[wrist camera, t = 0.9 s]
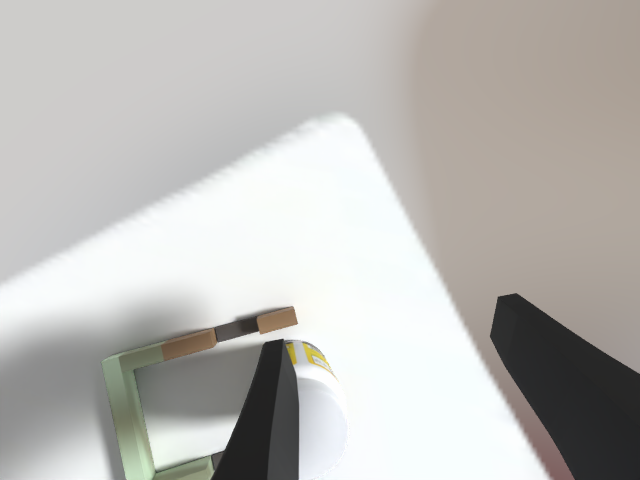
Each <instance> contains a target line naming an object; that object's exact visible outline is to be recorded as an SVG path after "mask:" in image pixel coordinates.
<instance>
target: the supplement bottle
mask: <svg viewBox="0 0 640 480" xmlns="http://www.w3.org/2000/svg"><path fill="white" fill-rule="evenodd" d="M285 344H286V347H287V350H288V353H289V355H290V358H291V361H292V364H293V366H294V369H295V372H296V376H297V386H298V397H299V480H313V479H316V478H319V477H321V476H323V475H325V474H326V473H328V472H329V471H330V470H332V469H333V468H334V467H335V466H336V465H337V464H338V462H339V461H340V459H341V458H342V456H343V454H344V452H345V450H346V447H347V443H348V438H349V424H348V419H347V416H346V400H345V396H344V392H343V389H342V387H341V385H340V383H339V382H338V380H337V378H336V376H335V375H334V373H333V371H332V369H331V368H330V366H329V364H328V362H327V361H326V359H325V357H324V355H323V354H322V353H321V351H320V350H319V349H318V348H316V347H315V346H314V345H312V344H310V343H308V342H305V341H301V340H292V341H286V342H285Z"/></svg>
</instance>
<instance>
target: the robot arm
mask: <svg viewBox="0 0 640 480" xmlns="http://www.w3.org/2000/svg"><path fill="white" fill-rule="evenodd" d="M490 338H491V340H492V342H493V344H494V346H495V348H496V350H497V352H498V354H499V356H500V358H501V360H502V361H503V364H504V365H505V367H506V369H507V370H508V372H509V373H510V375H511V376H512V378H513V379H514V381H515V383H516V384H517V386H518V387H519V389H520V390H521V392H522V393H523V395H524V396H525V398H526V399H527V401H528V402H529V404H530V406H531V407H532V408H533V410H534V411H535V413H536V415H537V416H538V418H539V419H540V420H541V422H542V424H543V425H544V427H545V428H546V429H547V431H548V432H549V434H550V436H551V438H552V439H553V441H554V443H555V444H556V446H557V448H558V449H559V451H560V453H561V455H562V456H563V458H564V460H565V462H566V464H567V466H568V468H569V470H570V471H571V473H572V475H573V477H574V479H575V480H640V374H639V373H637V372H635V371H634V370H632V369H630V368H629V367H627V366H625V365H624V364H622V363H621V362H619V361H617V360H615V359H614V358H612V357H611V356H609V355H607V354H606V353H604V352H602V351H601V350H599V349H598V348H596V347H595V346H593V345H592V344H590V343H589V342H587V341H585V340H584V339H582V338H581V337H579V336H578V335H576V334H575V333H573V332H572V331H570V330H569V329H567V328H566V327H564V326H563V325H562V324H560V323H559V322H557V321H556V320H554V319H553V318H551V317H550V316H548V315H547V314H546V313H544V312H543V311H541V310H540V309H538V308H537V307H535V306H534V305H533V304H531V303H530V302H528V301H527V300H526V299H524V298H523V297H521V296H520V295H518V294H517V293H515V294H510V295H505V296H500V297H498V299H497V304H496V309H495V314H494V319H493V324H492V329H491V334H490ZM211 480H299V397H298V386H297V376H296V372H295V369H294V366H293V364H292V361H291V358H290V355H289V353H288V350H287V347H286V344H285V342H284V339H279V340H274V341H269V342H265V343H264V345H263V347H262V351H261V355H260V358H259V362H258V365H257V369H256V372H255V375H254V378H253V381H252V384H251V387H250V389H249V392H248V395H247V398H246V400H245V403H244V406H243V408H242V411H241V413H240V416H239V418H238V421H237V423H236V425H235V428H234V430H233V432H232V435H231V437H230V440H229V442H228V444H227V446H226V449H225V451H224V453H223V455H222V457H221V459H220V461H219V463H218V466H217V468H216V470H215V472H214V474H213V476H212V478H211Z"/></svg>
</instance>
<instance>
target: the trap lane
mask: <svg viewBox="0 0 640 480" xmlns="http://www.w3.org/2000/svg"><path fill="white" fill-rule="evenodd" d="M296 324H298V323H297V318H296V314H295V310H294V307H289V308H285V309H282V310H278V311H274V312H270V313H267V314H263V315H259V316H258V317H252V318H248V319H244V320H241V321H237V322H233V323H230V324H226V325H222V326H218V327H215V330H216V334H217V338H216V334H215V330H214V328H211V329H207V330H204V331H200V332H196V333H193V334H189V335H185V336H181V337H178V338H174V339H170V340H167V341H163V342H159V343H155V344H152V345H148V346H144V347H141V348H137V349H133V350H129V351H126V352H122V353H118V354H115V355H112V356H110V357H108V358H106V359H104V360H103V361H101V364H102V369H103V374H104V378H105V383H106V388H107V392H108V397H109V402H110V406H111V411H112V416H113V420H114V425H115V430H116V434H117V439H118V444H119V448H120V453H121V458H122V462H123V467H124V472H125V476H126V480H211V478H212V476H213V474H214V468H215V470H216V468H217V466H218V463H219V461H220V459H221V457H222V455H223V453H224V451H223V452H220V453H217V454H214V455H212V458H211V456H208V457H205V458H202V459H199V460H196V461H192V462H189V463H186V464H183V465H180V466H177V467H174V468H171V469H168V470H165V471H162V472H159V473H156V471H155V467H154V462H153V458H152V453H151V449H150V444H149V439H148V435H147V430H146V426H145V421H144V417H143V412H142V407H141V403H140V398H139V394H138V389H137V384H136V380H135V375H134V371H133V370H134V369H138V368H142V367H145V366H149V365H152V364H156V363H160V362H163V361H167V360H170V359H174V358H177V357H181V356H185V355H188V354H192V353H195V352H199V351H203V350H206V349H210V348H213V347H214V346H215V345H216V343H217V339H218V342H222V341H226V340H229V339H233V338H236V337H240V336H244V335H247V334H251V333H254V332H258V331H259V332H260V334H264V333H267V332H271V331H275V330H278V329H282V328H285V327H289V326H293V325H296ZM212 459H213V462H212ZM213 464H214V467H213Z"/></svg>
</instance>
